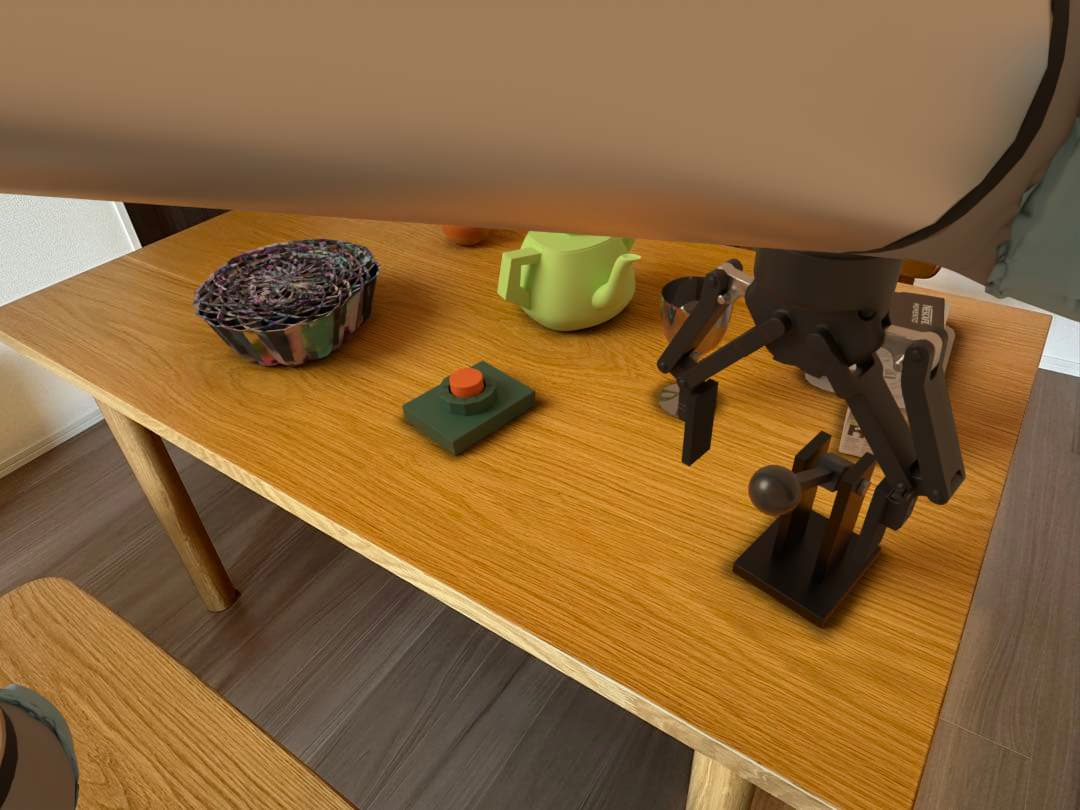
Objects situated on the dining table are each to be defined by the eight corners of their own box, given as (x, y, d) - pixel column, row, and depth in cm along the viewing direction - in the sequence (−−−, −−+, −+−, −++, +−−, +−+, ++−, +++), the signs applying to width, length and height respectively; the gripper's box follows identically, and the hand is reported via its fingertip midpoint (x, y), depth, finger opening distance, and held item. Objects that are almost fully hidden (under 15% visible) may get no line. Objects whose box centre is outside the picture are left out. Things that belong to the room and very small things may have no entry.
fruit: (505, 216, 125) (476, 183, 120) (486, 250, 121) (455, 218, 117) (476, 227, 131) (447, 196, 126) (456, 260, 127) (426, 230, 123)
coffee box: (900, 467, 75) (945, 342, 65) (837, 453, 77) (872, 330, 67) (904, 417, 81) (946, 296, 71) (846, 405, 84) (879, 286, 74)
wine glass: (662, 376, 90) (669, 272, 81) (724, 387, 88) (739, 281, 78) (647, 413, 84) (653, 305, 75) (713, 426, 82) (728, 316, 73)
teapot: (528, 275, 114) (522, 190, 105) (650, 283, 110) (655, 194, 101) (498, 336, 100) (488, 243, 91) (637, 347, 96) (641, 251, 87)
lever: (777, 529, 47) (798, 483, 46) (731, 503, 49) (751, 458, 48) (848, 498, 59) (867, 461, 58) (809, 478, 61) (826, 441, 60)
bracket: (820, 629, 60) (857, 520, 51) (731, 571, 65) (751, 464, 57) (878, 556, 66) (920, 447, 57) (792, 508, 71) (819, 402, 63)
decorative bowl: (410, 296, 114) (401, 238, 109) (351, 385, 92) (336, 317, 86) (264, 293, 118) (248, 237, 112) (173, 379, 95) (147, 313, 89)
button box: (455, 456, 80) (450, 429, 78) (404, 419, 86) (399, 393, 83) (536, 404, 87) (534, 378, 84) (484, 373, 93) (481, 348, 90)
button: (465, 403, 82) (463, 391, 81) (444, 389, 84) (442, 378, 83) (490, 388, 84) (489, 376, 83) (469, 375, 86) (468, 363, 85)
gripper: (1138, 260, 31) (980, 563, 44) (684, 151, 46) (666, 403, 59) (1088, 328, 27) (931, 638, 40) (609, 185, 42) (608, 446, 55)
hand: (774, 499), depth 50 cm, fingers open, 13 cm apart
